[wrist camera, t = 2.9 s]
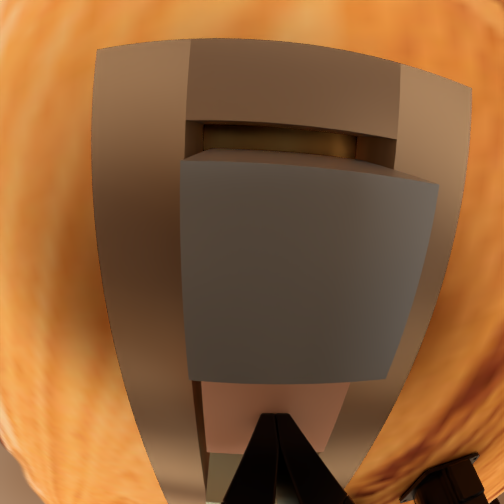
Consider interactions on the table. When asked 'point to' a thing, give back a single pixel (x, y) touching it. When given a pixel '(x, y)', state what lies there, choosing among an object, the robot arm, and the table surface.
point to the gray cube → (298, 265)
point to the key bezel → (168, 208)
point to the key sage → (221, 475)
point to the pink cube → (268, 411)
